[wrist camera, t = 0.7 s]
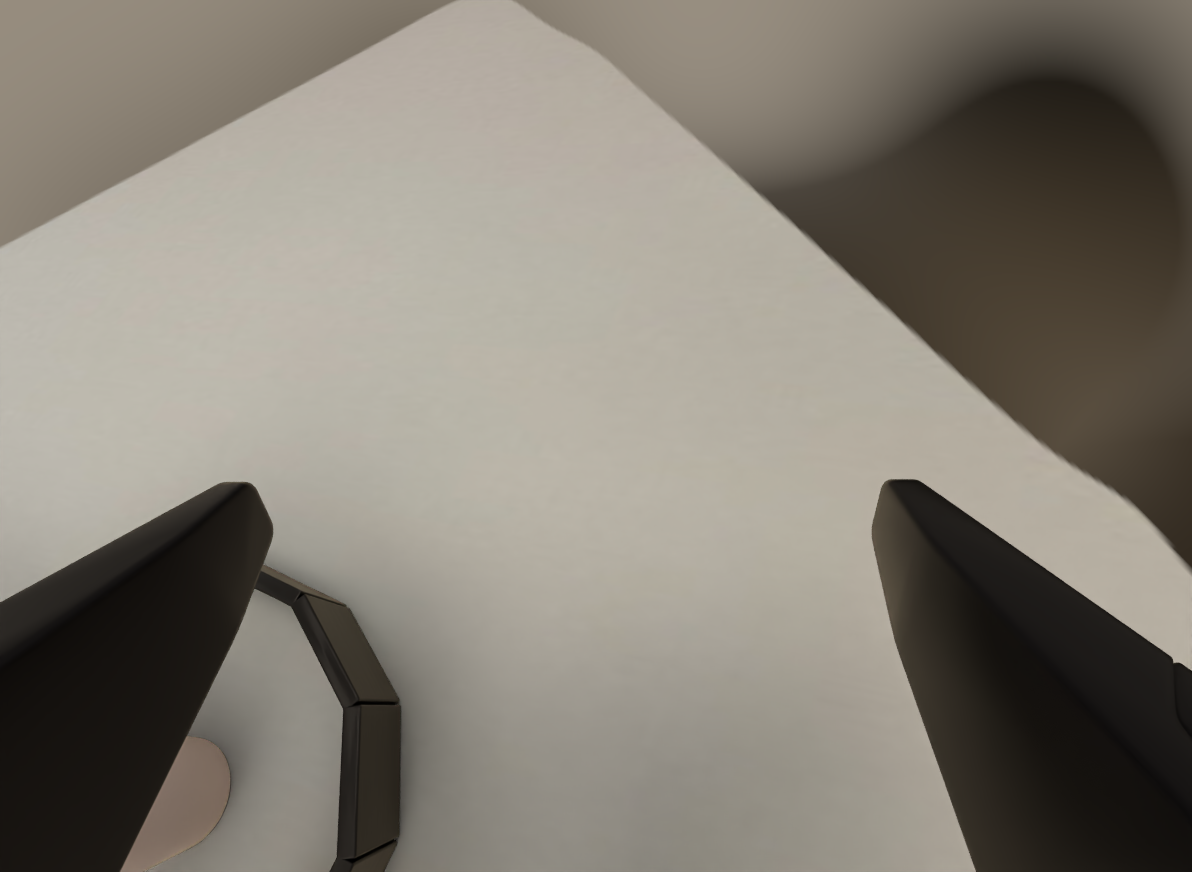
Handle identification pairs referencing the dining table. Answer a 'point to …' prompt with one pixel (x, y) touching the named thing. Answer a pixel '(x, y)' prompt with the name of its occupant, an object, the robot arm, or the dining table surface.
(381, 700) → the pan
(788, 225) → the dining table surface
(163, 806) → the smoothie
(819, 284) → the dining table surface
